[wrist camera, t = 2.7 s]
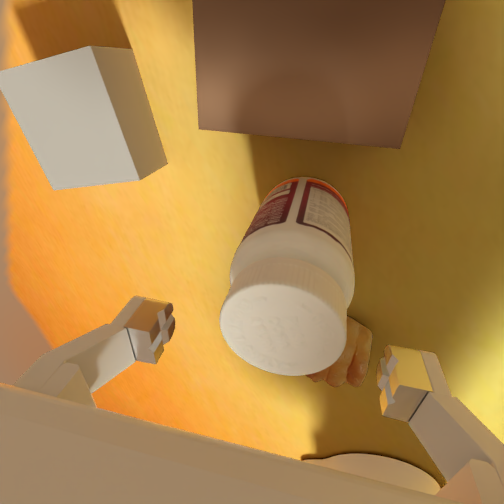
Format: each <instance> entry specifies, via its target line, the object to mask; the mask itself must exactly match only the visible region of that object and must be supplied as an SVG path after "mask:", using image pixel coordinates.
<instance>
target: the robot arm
mask: <svg viewBox="0 0 504 504" xmlns="http://www.w3.org/2000/svg"><path fill="white" fill-rule="evenodd" d="M172 311H173V305H172V304H171V303H169V302H164V301H159V300H155V299H150V298H145V297H140V296H134V297H133V298H132V299H131V300H130V301H129V302H128V303H127V305H126V306H125V307H124V308H123V309H122V311H121V312H120V313H119V314H118V315H117V317H116V318H115V319H114V320H113V321H112V323H111V324H105V325H103V326H101V327H99V328H97V329H95V330H93V331H91V332H89V333H87V334H84V335H82V336H80V337H78V338H76V339H74V340H72V341H70V342H68V343H66V344H64V345H62V346H60V347H58V348H56V349H53V350H51V351H49V352H47V353H46V354H43V355H42V356H41V357H40V358H39V359H38V360H37V361H36V362H35V363H34V364H33V365H32V366H31V367H30V368H29V369H28V370H27V371H26V372H25V373H24V374H23V375H22V376H21V377H20V378H19V379H18V380H17V381H16V382H15V383H14V384H13V385H12V386H11V385H7V384H4V383H0V504H504V444H503V443H502V442H501V441H500V440H499V439H498V438H497V437H496V436H495V435H494V434H493V433H492V432H491V431H490V430H489V429H488V428H487V427H486V426H485V425H484V424H483V423H482V422H481V421H480V420H479V419H478V418H477V417H476V416H475V415H474V414H473V413H472V412H471V411H470V410H469V409H468V408H467V407H466V406H465V405H464V404H463V403H462V402H461V401H460V400H459V399H458V398H456V397H452V395H451V392H450V390H449V387H448V384H447V382H446V379H445V376H444V374H443V371H442V368H441V366H440V363H439V360H438V358H437V355H436V354H435V353H433V352H427V351H422V350H417V349H411V348H406V347H400V346H395V345H389V344H388V345H387V346H386V347H385V349H384V356H385V357H383V358H381V359H380V360H379V363H378V366H377V372H376V376H377V386H378V387H379V388H380V389H381V391H382V393H381V395H380V397H379V399H380V405H381V412H382V416H385V417H389V418H393V419H397V420H401V421H404V422H408V424H409V426H410V427H411V429H412V430H413V432H414V433H415V435H416V436H417V438H418V439H419V441H420V442H421V444H422V445H423V447H424V448H425V450H426V451H427V453H428V454H429V455H430V457H431V458H432V460H433V461H434V463H435V464H436V466H437V467H438V469H439V470H440V472H441V473H442V475H443V476H444V478H445V479H446V481H447V482H448V483H447V484H446V485H445V486H444V487H443V488H442V489H441V488H440V486H439V484H438V483H437V482H436V480H435V479H434V478H432V477H431V476H430V475H429V474H427V473H426V472H424V471H422V470H421V469H419V468H417V467H415V466H413V465H410V464H408V463H405V462H402V461H399V460H396V459H392V458H388V457H384V456H378V455H371V454H343V455H337V456H333V457H330V458H326V459H311V460H303V461H300V460H296V459H292V458H289V457H285V456H281V455H277V454H273V453H269V452H266V451H262V450H258V449H254V448H250V447H246V446H242V445H239V444H235V443H231V442H227V441H223V440H219V439H215V438H212V437H208V436H204V435H200V434H196V433H192V432H189V431H185V430H181V429H177V428H173V427H169V426H165V425H162V424H158V423H154V422H150V421H146V420H142V419H138V418H135V417H131V416H127V415H123V414H119V413H115V412H111V411H108V410H104V409H100V408H97V406H96V403H95V400H94V398H93V396H92V393H93V392H95V391H96V390H97V389H99V388H100V387H101V386H103V385H104V384H105V383H107V382H108V381H110V380H111V379H112V378H114V377H115V376H116V375H118V374H119V373H121V372H122V371H123V370H125V369H126V368H127V367H129V366H130V365H132V364H133V363H134V362H135V360H136V361H141V362H146V363H151V364H157V362H158V360H159V358H160V357H161V355H162V353H163V351H164V347H163V345H164V344H165V343H167V342H169V341H170V339H171V337H172V335H173V332H174V329H175V318H174V317H173V316H172V315H171V313H172Z"/></svg>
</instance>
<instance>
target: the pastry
mask: <svg viewBox="0 0 504 504" xmlns="http://www.w3.org/2000/svg"><path fill="white" fill-rule="evenodd" d="M346 322H347V340H346V345H345V348H344V350H343V352H342V354H341V356H340V357H339V358H338V359H337V361H336V362H334V363H333V364H332V365H331V366H329V367H327V368H326V369H324V370H321V371H319V372H316V373H313V374H308V375H306V376H308V377H309V378H310V379H312V380H313V381H314V382H318V381H320V380H325V381H326V382H327V383H328V384H330V385H331V386H333V387H338V386H340V385H341V384H342V383H345V382H346V383H348V384H351V385H352V386H354V387H358V386H361V384H362V383H363V381H364V379H365V377H366V375H367V369H368V368H367V365H368V363H369V357H370V351H371V342H372V338H373V335H372V332H371V331H370V330H369V329H367V328H366V327H365V326H363V325H362V324H360V323H358V322H357V321H355V320H354V319H352V318H350V317H348V316H347V320H346Z"/></svg>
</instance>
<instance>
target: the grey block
mask: <svg viewBox="0 0 504 504" xmlns="http://www.w3.org/2000/svg"><path fill="white" fill-rule="evenodd" d="M0 89H1V91H2V93H3V95H4V97H5V99H6V101H7V102H8V104H9V106H10V108H11V110H12V112H13V114H14V116H15V118H16V120H17V122H18V123H19V125H20V127H21V129H22V131H23V133H24V135H25V137H26V139H27V141H28V143H29V144H30V146H31V148H32V150H33V152H34V154H35V156H36V158H37V160H38V162H39V164H40V165H41V167H42V169H43V171H44V173H45V175H46V177H47V179H48V181H49V183H50V185H51V186H52V188H53V190H61V189H69V188H78V187H87V186H95V185H104V184H113V183H121V182H130V181H139V180H141V179H143V178H145V177H146V176H148V175H150V174H151V173H153V172H155V171H157V170H158V169H160V168H162V167H163V166H165V165H167V164H168V163H167V159H166V156H165V153H164V150H163V147H162V143H161V140H160V137H159V134H158V130H157V127H156V124H155V121H154V118H153V114H152V111H151V108H150V105H149V101H148V98H147V95H146V92H145V89H144V85H143V82H142V79H141V76H140V72H139V69H138V66H137V63H136V60H135V56H134V53H133V50H132V49H127V48H114V47H102V46H87V47H83V48H80V49H76V50H73V51H69V52H66V53H62V54H59V55H55V56H52V57H48V58H45V59H41V60H38V61H34V62H31V63H27V64H24V65H20V66H17V67H13V68H10V69H6V70H3V71H0Z"/></svg>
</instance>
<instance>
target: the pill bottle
mask: <svg viewBox="0 0 504 504" xmlns="http://www.w3.org/2000/svg"><path fill="white" fill-rule="evenodd" d="M230 284H231V287H230V289H229V292H228V294H227V297H226V299H225V301H224V303H223V305H222V308H221V311H220V328H221V332H222V334H223V337H224V338H225V340H226V342H227V343H228V345H229V346H230V347H231V349H232V350H233V351H234V352H235V353H236V354H237V355H238V356H239V357H241V358H242V359H244V360H245V361H246V362H248V363H250V364H251V365H253V366H255V367H257V368H260V369H262V370H265V371H267V372H271V373H275V374H280V375H289V376H300V375H308V374H313V373H316V372H319V371H321V370H324V369H326V368H327V367H329V366H331V365H332V364H333V363H334V362H336V361H337V359H338V358H339V357H340V356H341V354H342V352H343V350H344V348H345V345H346V340H347V322H346V320H347V308H348V307H349V305H350V303H351V301H352V298H353V294H354V288H355V274H354V265H353V255H352V244H351V233H350V220H349V214H348V209H347V206H346V203H345V201H344V199H343V197H342V196H341V195H340V193H339V192H338V191H337V190H336V189H335V188H334V187H333V186H331V185H330V184H328V183H326V182H324V181H322V180H319V179H316V178H311V177H296V178H291V179H288V180H285V181H283V182H281V183H280V184H278V185H277V186H275V187H274V188H273V189H272V190H271V191H270V192H269V193H268V195H267V196H266V197H265V199H264V201H263V202H262V204H261V206H260V208H259V210H258V212H257V214H256V215H255V217H254V219H253V221H252V223H251V225H250V227H249V228H248V230H247V232H246V234H245V236H244V238H243V239H242V241H241V243H240V245H239V247H238V248H237V250H236V253H235V256H234V258H233V261H232V264H231V269H230Z"/></svg>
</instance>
